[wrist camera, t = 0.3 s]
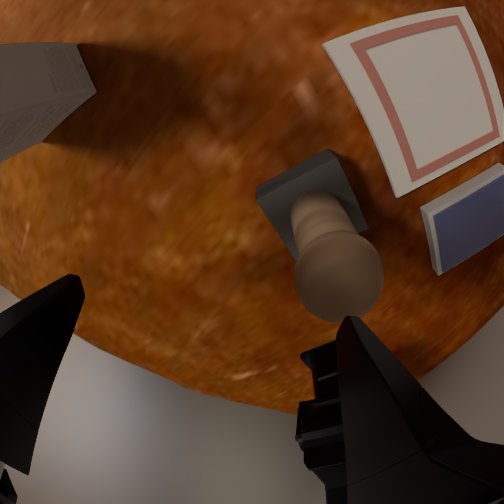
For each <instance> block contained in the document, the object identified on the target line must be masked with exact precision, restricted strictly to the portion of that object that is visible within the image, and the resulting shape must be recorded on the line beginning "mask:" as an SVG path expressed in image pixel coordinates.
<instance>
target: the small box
mask: <svg viewBox="0 0 504 504" xmlns="http://www.w3.org/2000/svg"><path fill="white" fill-rule="evenodd" d="M95 93H96V89H95V87H94V85H93V83H92V80H91V78H90V76H89V74H88V71H87V69H86V67H85V65H84V62H83V60H82V58H81V55H80V53H79V51H78V48H77V46H76V44H75V43H62V42H27V43H10V44H0V163H1V162H3V161H5V160H7V159H8V158H10V157H12V156H14V155H16V154H18V153H20V152H22V151H24V150H26V149H28V148H30V147H32V146H34V145H37V144H39V143H41V142H42V141H43V140H44V139H45V138H46V137H47V136H48V135H49V134H50V133H51V132H52V131H53V130H54V129H55V128H56V127H57V126H58V125H59V124H60V123H61V122H62V121H63V120H64V119H65V118H66V117H68V116H69V115H70V114H71V113H72V112H73V111H74V110H76V109H77V108H78V107H79V106H80V105H81V104H82V103H84V102H85V101H86V100H87V99H89V98H90V97H91V96H92V95H94V94H95Z"/></svg>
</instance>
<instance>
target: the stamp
mask: <svg viewBox="0 0 504 504" xmlns="http://www.w3.org/2000/svg"><path fill="white" fill-rule="evenodd" d="M256 201H257V202H258V204H259V205H260V207H261V208H262V210H263V211H264V213H265V214H266V216H267V217H268V219H269V220H270V222H271V223H272V225H273V226H274V228H275V229H276V231H277V232H278V234H279V235H280V237H281V238H282V240H283V242H284V243H285V245H286V246H287V248H288V249H289V251H290V252H291V254H292V255H293V257H294V259H295V260H296V262H297V264H296V267H295V274H294V278H295V287H296V291H297V294H298V296H299V298H300V300H301V302H302V303H303V305H304V306H305V307H306V309H308V310H309V311H310V312H311V313H312V314H313V315H315V316H317V317H318V318H320V319H322V320H326V321H329V322H336V323H339V322H343V320H344V318H345V317H346V316H348V315H349V316H358V317H361V316H363V315H364V314H365V313H367V312H368V311H369V310H370V309H371V308H372V307H373V306H374V304H375V303H376V302H377V300H378V298H379V296H380V294H381V291H382V288H383V283H384V268H383V264H382V260H381V258H380V256H379V254H378V252H377V251H376V249H375V248H374V246H373V245H372V244H371V243H370V242H369V241H367V240H366V239H365V238H363V237H361V236H360V235H358V234H359V233H361V232H363V231H365V230H367V229H369V228H368V226H367V223H366V221H365V218H364V216H363V213H362V211H361V209H360V206H359V204H358V202H357V200H356V197H355V195H354V193H353V191H352V188H351V186H350V184H349V182H348V180H347V178H346V175H345V173H344V171H343V169H342V167H341V165H340V163H339V161H338V159H337V157H336V156H335V155H334V154H333V153H332V152H331V151H330V150H328V149H326V150H325V151H323V152H321V153H319V154H317V155H315V156H313V157H311V158H309V159H307V160H305V161H303V162H302V163H300V164H298V165H296V166H294V167H292V168H290V169H288V170H287V171H285V172H283V173H281V174H279V175H277V176H276V177H274V178H272V179H270V180H268V181H267V182H265V183H263V184H261V185H260V186H258V187H257V188H256Z"/></svg>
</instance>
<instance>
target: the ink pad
mask: <svg viewBox="0 0 504 504" xmlns="http://www.w3.org/2000/svg"><path fill="white" fill-rule="evenodd" d="M420 210H421V213H422V218H423V222H424V226H425V231H426V235H427V240H428V245H429V250H430V256H431V262H432V268H433V269H434V270H435V272H436V273H437V275H438V276H439V275H441V274H442V273H444V272H446V271H448V270H449V269H451V268H453V267H454V266H456V265H458V264H459V263H461V262H463V261H464V260H466V259H467V258H469V257H471V256H472V255H474V254H475V253H477V252H478V251H480V250H481V249H483V248H485V247H486V246H488V245H489V244H491V243H492V242H493V241H495V240H496V239H498V238H499V237H501V236H502V235H503V234H504V165H502V164H500V163H497V164H496V165H494V166H492V167H491V168H489V169H487V170H486V171H484V172H482V173H480V174H479V175H477V176H475V177H474V178H472V179H470V180H468V181H467V182H465V183H463V184H461V185H459V186H458V187H456V188H454V189H452V190H450V191H449V192H447V193H445V194H443V195H441V196H440V197H438V198H436V199H434V200H432V201H430V202H429V203H427V204H425V205H423V206H421V207H420Z"/></svg>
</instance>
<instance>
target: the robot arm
mask: <svg viewBox="0 0 504 504" xmlns="http://www.w3.org/2000/svg"><path fill="white" fill-rule="evenodd" d="M84 300H85V292H84V289H83V286H82V282H81V279H80V277H79V276H78V275H74V274H68V275H66V276H64V277H62V278H60V279H58V280H56V281H55V282H53V283H51V284H49V285H47V286H46V287H44V288H42V289H40V290H38V291H37V292H35V293H33V294H31V295H30V296H28V297H26V298H25V299H23V300H21V301H20V302H18V303H16V304H15V305H13V306H11V307H9V308H8V309H6V310H5V311H3V312H1V313H0V504H16V501H17V494H16V492H15V490H14V487H13V485H12V483H11V480H10V478H9V475H8V472H7V470H6V469H5V468H4V465H5V464H7V465H8V466H10V467H12V468H14V469H16V470H18V471H20V472H22V473H24V474H26V475H29V471H30V466H31V461H32V456H33V451H34V447H35V442H36V438H37V435H38V429H39V426H40V423H41V419H42V416H43V412H44V409H45V406H46V403H47V399H48V396H49V394H50V391H51V388H52V385H53V382H54V379H55V377H56V374H57V371H58V368H59V366H60V363H61V361H62V358H63V356H64V353H65V351H66V348H67V346H68V344H69V341H70V339H71V337H72V334H73V331H74V328H75V325H76V322H77V319H78V316H79V314H80V311H81V308H82V305H83V303H84ZM300 359H301V360H302V361H303V362H304V363H305V364H306V365H307V366H308V367H309V369H310V370H311V371H312V378H313V386H314V395H315V399H313V400H309V401H302V402H299V408H298V417H297V428H296V436H295V439H296V441H297V442H299V445H300V448H301V450H302V451H303V452H304V463H305V465H306V466H307V468H308V469H309V470H310V471H311V470H312V471H313V472H314V473H315V474H316V475H317V476H318V478H319V479H320V480H321V481H322V482H323V483H324V484H325V490H326V503H327V504H504V445H501V444H494V443H488V442H483V441H479V440H477V439H475V438H473V437H471V436H470V435H469V434H468V433H467V432H466V431H465V430H464V429H463V428H462V427H461V426H460V425H459V424H457V423H456V422H455V421H454V420H453V419H452V418H451V417H450V416H449V415H448V414H447V413H446V412H445V411H444V410H443V409H442V408H441V407H440V406H439V405H438V404H437V403H436V401H435V400H434V399H433V398H432V397H431V396H430V395H429V394H428V393H427V391H426V390H425V389H424V388H422V386H421V385H420V384H419V383H418V381H417V380H416V379H415V378H414V377H413V376H412V375H411V373H410V372H409V371H408V370H407V369H406V368H405V367H404V366H403V365H402V363H401V362H400V361H399V360H398V359H397V358H396V357H395V356H394V355H393V353H392V352H391V351H390V350H389V349H388V348H387V347H386V346H385V345H384V344H383V343H382V342H381V340H380V339H379V338H378V337H377V336H376V335H375V334H374V333H373V332H372V331H371V330H370V329H369V328H368V326H367V325H366V324H365V323H364V322H363V321H362V320H361V319H360V318H359V317H358V316H349V315H348V316H346V317H345V318H344V320H343V322H342V324H341V326H340V328H339V329H338V332H337V335H336V341H333V342H331V343H328V344H326V345H323V346H320V347H318V348H315V349H312V350H310V351H307V352H304V353H302V354H300Z"/></svg>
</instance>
